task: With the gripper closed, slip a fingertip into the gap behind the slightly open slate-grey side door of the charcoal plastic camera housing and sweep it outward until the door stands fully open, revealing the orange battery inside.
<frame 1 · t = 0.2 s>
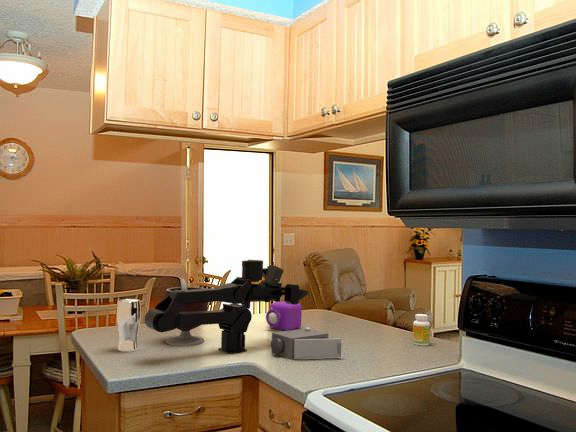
hand: (299, 291, 186), 17 cm above the worktop, tool horizontal, fingers open, 9 cm apart
mate gourd: (184, 341, 184), on the worktop
supplement bottle: (421, 344, 186), on the worktop
beer glass: (128, 350, 170), on the worktop
camera door: (318, 348, 163), point 3 cm above the worktop, hinge at 25.0°
toy camera: (282, 329, 208), on the worktop
camera housing: (299, 352, 171), on the worktop
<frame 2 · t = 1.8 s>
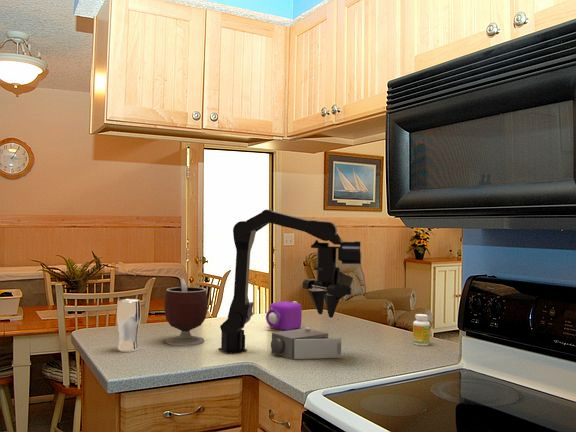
hand: (325, 315, 167), 12 cm above the worktop, tool pointing down, fingers open, 6 cm apart
nothing on the worktop moved.
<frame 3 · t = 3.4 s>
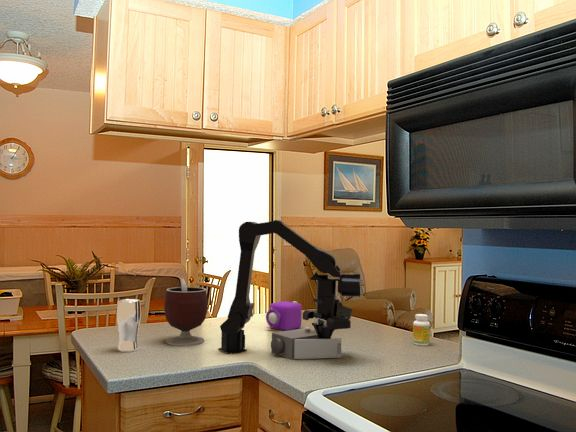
hand: (325, 347, 167), 3 cm above the worktop, tool pointing down, fingers closed
camera door: (318, 348, 163), point 3 cm above the worktop, hinge at 25.0°, touching gripper
everything else where it was.
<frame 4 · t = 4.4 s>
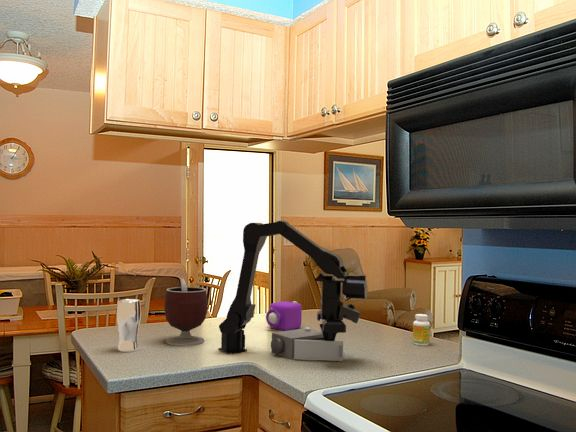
hand: (330, 350, 163), 3 cm above the worktop, tool pointing down, fingers closed
camera door: (318, 350, 161), point 3 cm above the worktop, hinge at 41.6°, touching gripper
everything else where it was.
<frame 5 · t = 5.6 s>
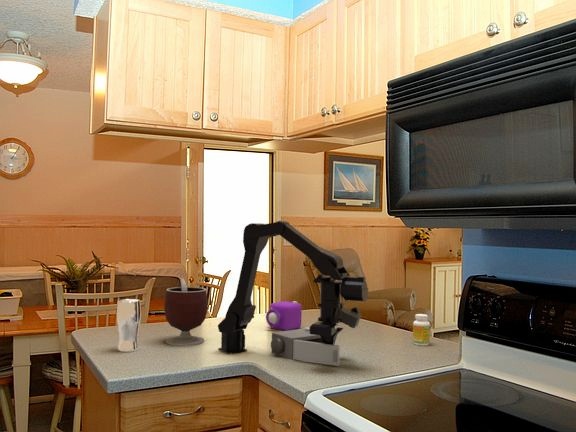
hand: (330, 353, 159), 3 cm above the worktop, tool pointing down, fingers closed
camera door: (315, 352, 158), point 3 cm above the worktop, hinge at 66.3°, touching gripper
everything else where it was.
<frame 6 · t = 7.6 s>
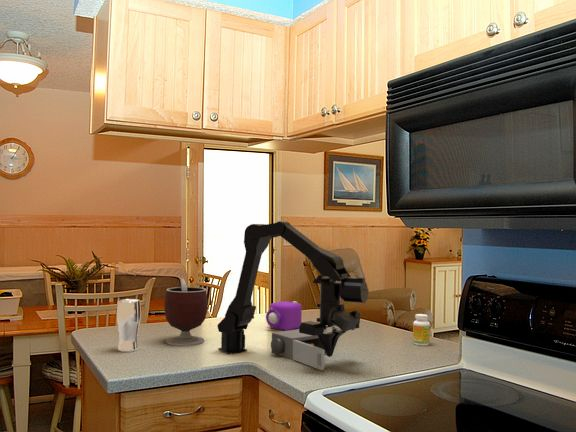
hand: (329, 356, 156), 3 cm above the worktop, tool pointing down, fingers closed
camera door: (307, 354, 156), point 3 cm above the worktop, hinge at 94.2°
everything else where it was.
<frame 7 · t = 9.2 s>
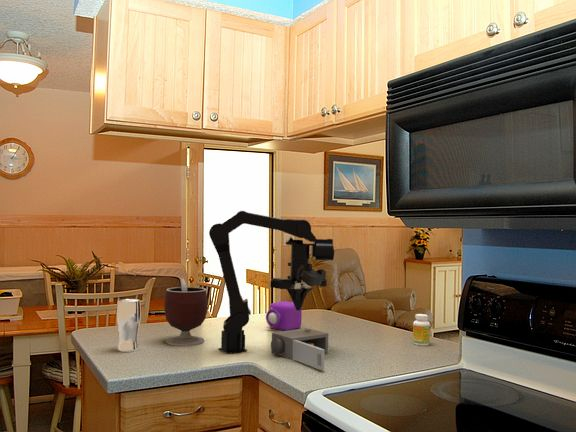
hand: (298, 310, 173), 13 cm above the worktop, tool pointing down, fingers closed
nothing on the worktop moved.
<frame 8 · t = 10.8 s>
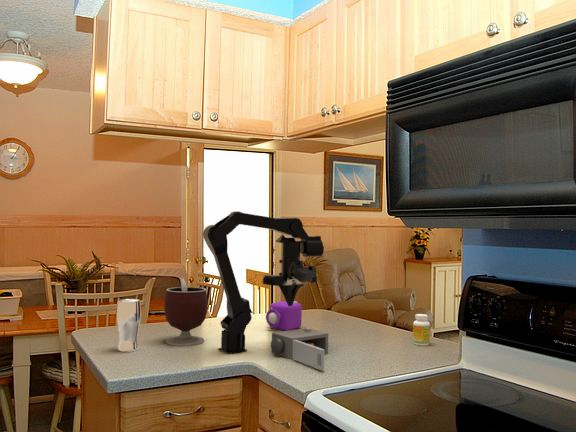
hand: (290, 306, 178), 13 cm above the worktop, tool pointing down, fingers closed
nothing on the worktop moved.
at the end: camera door at +94° (first picture: +25°) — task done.
